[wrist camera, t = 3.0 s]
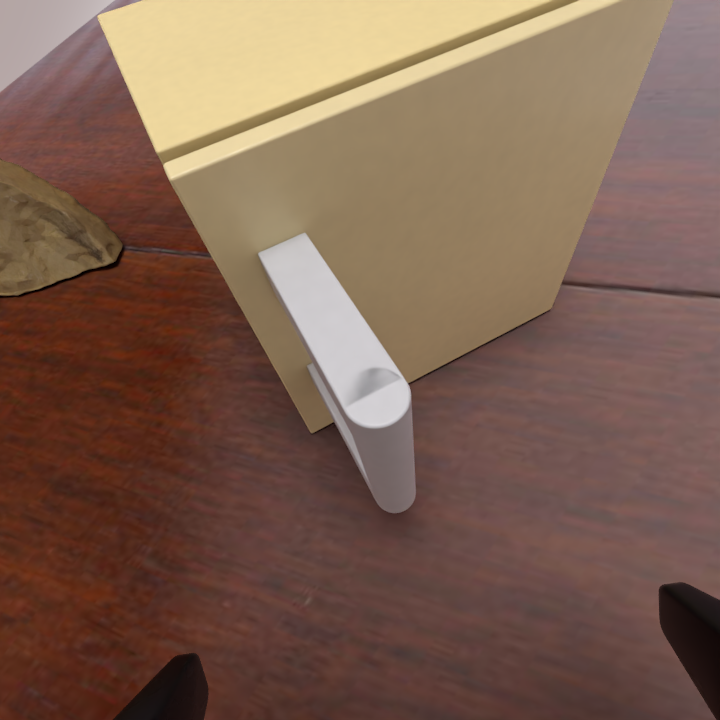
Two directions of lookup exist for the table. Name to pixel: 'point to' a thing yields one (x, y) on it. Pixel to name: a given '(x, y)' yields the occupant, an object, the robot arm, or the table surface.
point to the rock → (46, 233)
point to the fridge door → (418, 214)
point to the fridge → (278, 55)
